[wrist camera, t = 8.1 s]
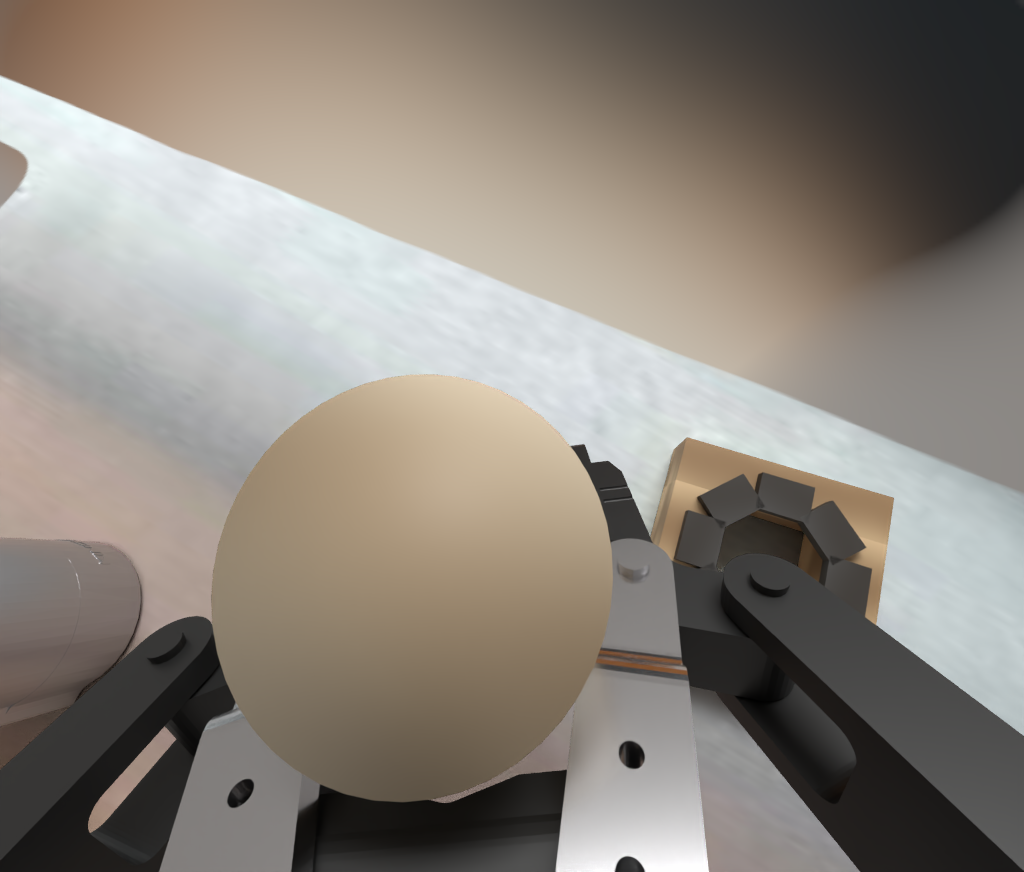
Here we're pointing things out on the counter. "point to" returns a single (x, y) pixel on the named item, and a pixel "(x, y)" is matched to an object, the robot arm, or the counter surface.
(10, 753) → the counter surface
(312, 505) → the dowel
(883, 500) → the socket
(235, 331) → the counter surface
